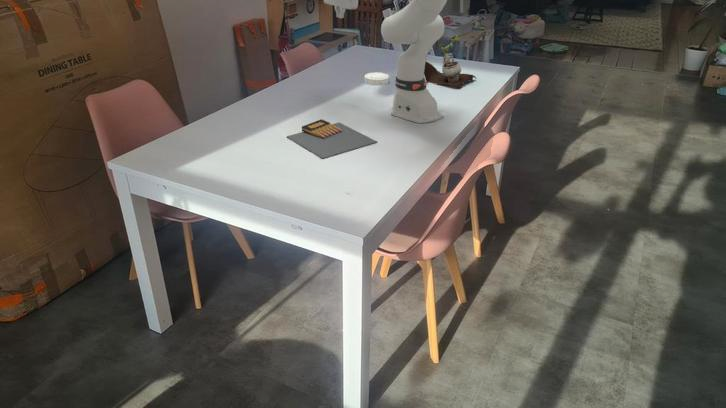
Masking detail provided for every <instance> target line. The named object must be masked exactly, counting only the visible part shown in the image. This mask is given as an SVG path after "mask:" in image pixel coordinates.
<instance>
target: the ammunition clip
mask: <svg viewBox="0 0 726 408" xmlns="http://www.w3.org/2000/svg"><path fill="white" fill-rule="evenodd" d="M332 124H333V123H331V122H329V121H326V120H325V119H322V118H321V119H318V120H316V121H313V122H310V123H308V124H305V125H302V126H301V132H306V133H308V134H311V135H312V134H313V135H315V136H319V137H322V138H326V137H329V135H332V134H336V133H339V131H342V130H341V129H340V128H338V127H336V126H334V125H332ZM335 132H336V133H335ZM325 136H326V137H325Z"/></svg>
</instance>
